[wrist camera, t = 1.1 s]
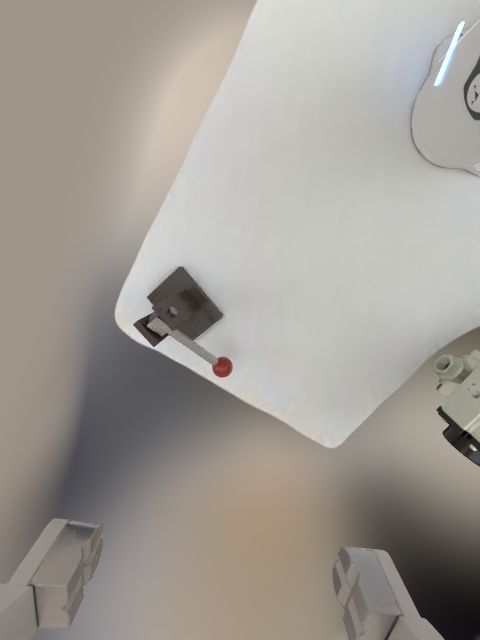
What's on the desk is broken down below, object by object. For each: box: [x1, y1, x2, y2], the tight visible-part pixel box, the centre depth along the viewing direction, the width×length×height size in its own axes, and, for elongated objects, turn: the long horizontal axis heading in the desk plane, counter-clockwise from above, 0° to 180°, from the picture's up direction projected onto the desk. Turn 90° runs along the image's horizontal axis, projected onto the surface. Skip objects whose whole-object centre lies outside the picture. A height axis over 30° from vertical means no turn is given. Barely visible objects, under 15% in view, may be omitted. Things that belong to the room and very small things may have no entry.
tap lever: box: [147, 312, 233, 377], centre depth 41 cm, size 17×4×4 cm, turn 40°
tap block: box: [134, 267, 223, 347], centre depth 42 cm, size 12×9×14 cm
